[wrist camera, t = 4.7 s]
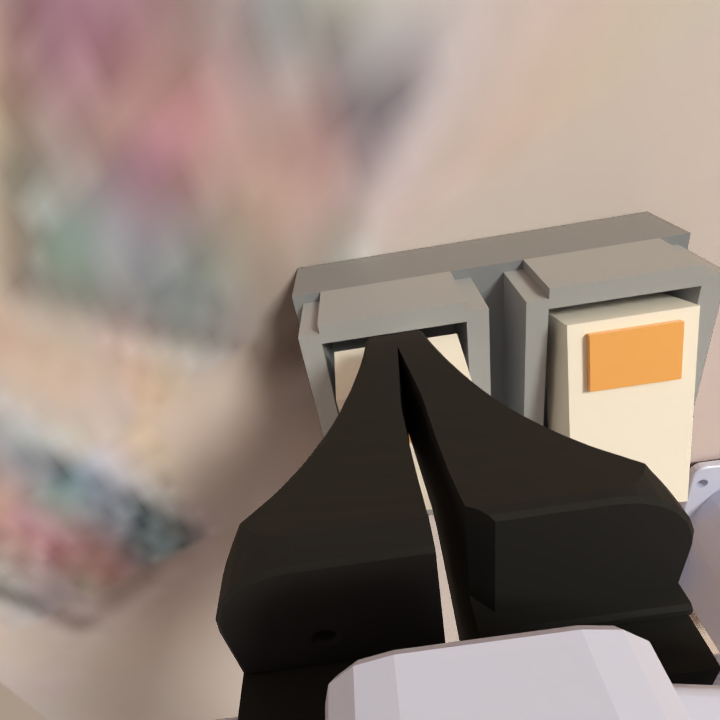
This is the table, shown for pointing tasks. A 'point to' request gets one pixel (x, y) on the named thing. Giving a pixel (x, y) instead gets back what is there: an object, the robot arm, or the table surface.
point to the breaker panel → (496, 299)
